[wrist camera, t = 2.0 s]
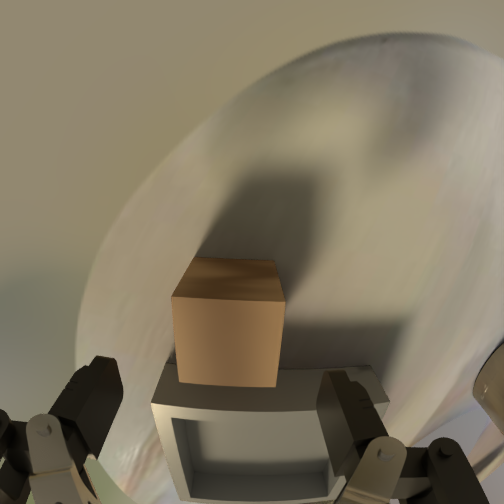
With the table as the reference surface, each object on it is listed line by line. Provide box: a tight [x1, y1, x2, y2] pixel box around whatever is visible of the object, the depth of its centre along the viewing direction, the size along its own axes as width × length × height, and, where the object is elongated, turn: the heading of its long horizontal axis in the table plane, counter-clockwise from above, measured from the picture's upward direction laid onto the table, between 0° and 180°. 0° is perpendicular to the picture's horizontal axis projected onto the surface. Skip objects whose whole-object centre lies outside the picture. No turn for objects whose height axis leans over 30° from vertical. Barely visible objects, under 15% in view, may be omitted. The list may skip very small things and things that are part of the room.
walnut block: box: [171, 257, 286, 387], centre depth 16 cm, size 5×5×6 cm
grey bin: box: [151, 363, 390, 504], centre depth 21 cm, size 16×16×4 cm
